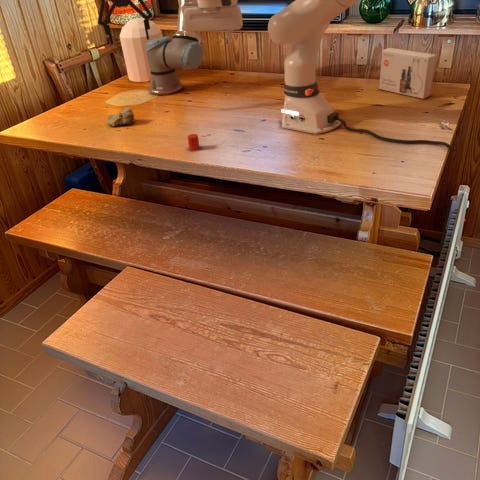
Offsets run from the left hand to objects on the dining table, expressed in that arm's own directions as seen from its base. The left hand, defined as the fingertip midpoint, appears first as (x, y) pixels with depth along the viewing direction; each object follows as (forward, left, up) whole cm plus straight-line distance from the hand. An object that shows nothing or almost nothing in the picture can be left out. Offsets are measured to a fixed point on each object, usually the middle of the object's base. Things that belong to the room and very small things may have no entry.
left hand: (130, 41), depth 176 cm
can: (+40, +19, -29) cm, 53 cm away
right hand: (+20, +31, -1) cm, 37 cm away
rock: (+6, -9, -29) cm, 31 cm away
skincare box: (+10, +106, -29) cm, 111 cm away
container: (-62, -2, -29) cm, 69 cm away
